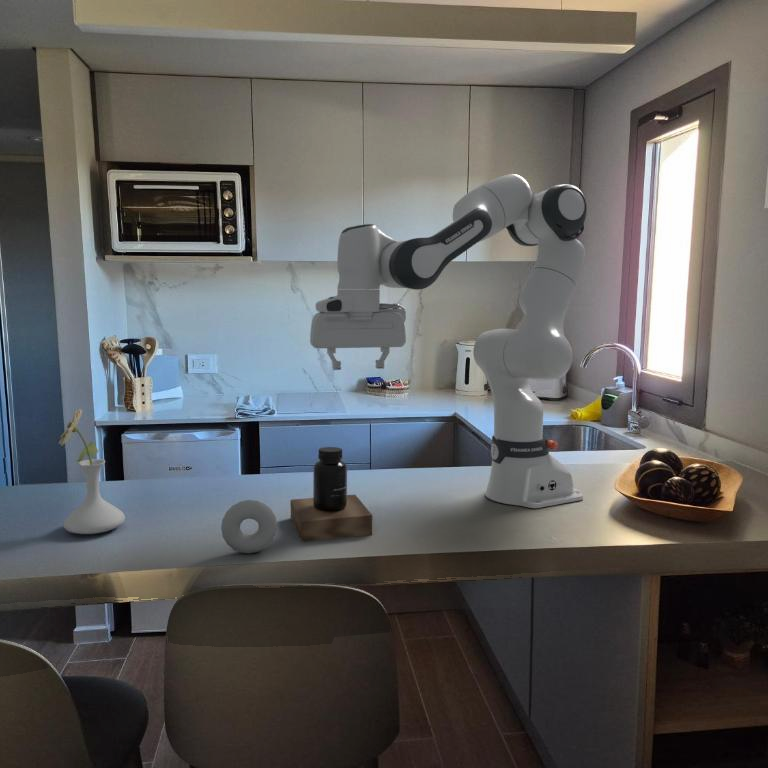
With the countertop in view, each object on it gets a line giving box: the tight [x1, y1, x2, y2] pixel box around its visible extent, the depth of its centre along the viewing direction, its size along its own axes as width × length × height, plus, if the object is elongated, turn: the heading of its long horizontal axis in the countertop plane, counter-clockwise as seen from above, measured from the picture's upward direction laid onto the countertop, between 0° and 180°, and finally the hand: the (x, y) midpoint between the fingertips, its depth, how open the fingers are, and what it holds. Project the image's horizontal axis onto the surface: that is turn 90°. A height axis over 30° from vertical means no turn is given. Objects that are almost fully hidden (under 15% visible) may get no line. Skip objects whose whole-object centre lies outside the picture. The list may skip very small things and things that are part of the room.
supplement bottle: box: [312, 446, 348, 511], centre depth 136 cm, size 7×7×12 cm
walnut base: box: [290, 494, 373, 542], centre depth 137 cm, size 14×14×4 cm
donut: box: [220, 499, 278, 555], centre depth 122 cm, size 10×4×10 cm, turn 100°
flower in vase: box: [58, 408, 126, 535], centre depth 132 cm, size 13×11×25 cm
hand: (358, 369), depth 143 cm, fingers open, 8 cm apart
